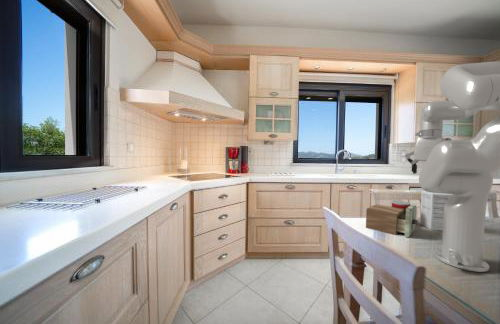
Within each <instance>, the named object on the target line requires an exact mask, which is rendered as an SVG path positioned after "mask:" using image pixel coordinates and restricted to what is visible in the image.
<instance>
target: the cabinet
mask: <svg viewBox="0 0 500 324" xmlns="http://www.w3.org/2000/svg"><path fill="white" fill-rule="evenodd" d="M365 211H366V214H365V216H366V217H365V228H367V229H371V230H375V231H378V232H382V233H387V234H389V235H390V234H391V235H395V236H396V235H398V234H399V232H398V231H397V216H398V215H400V214H404V209H402V208H396V207H392V206H391V205H390V206H389V205H383V204H377V203H375V204H374V205H371V206H369V207H367V208H366V210H365Z"/></svg>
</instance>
